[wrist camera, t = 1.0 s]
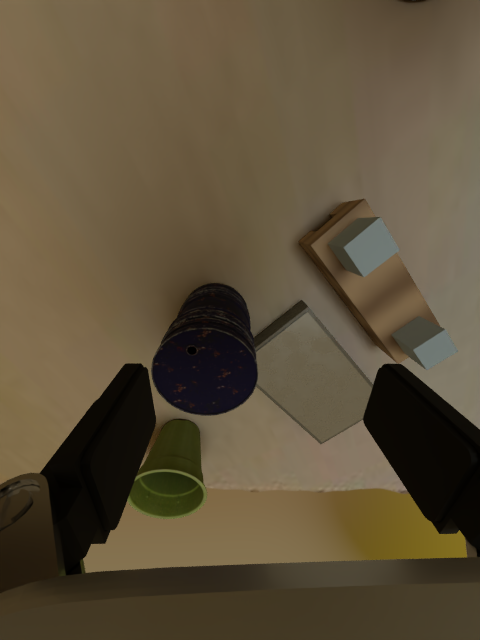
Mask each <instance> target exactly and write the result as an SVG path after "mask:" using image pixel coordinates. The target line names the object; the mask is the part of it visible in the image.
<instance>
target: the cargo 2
mask: <svg viewBox="0 0 480 640" xmlns="http://www.w3.org/2000/svg"><path fill="white" fill-rule="evenodd" d="M392 336H393V338H394V339H395V341H396V342H397V343H398V345H399V346H400V348H401V349H402V350H403V352H404V353H405V354H406V355H407V356H409V357H410V358H411V359H413V360H414V361H415V362H417V363H418V364H419V365H421V366H422V367H423V368H425V369H426V370H428V369H430V368H431V367H433V366H435V365H436V364H438V363H440V362H441V361H443V360H444V359H446V358H448V357H449V356H451V355H453V354H454V353H456V352H458V350H457V348H456V347H455V345H454V343H453V342H452V340H451V338H450V336H449V335H448V333H447V331H446V330H445V329H444V328H442V327H440V326H438V325H436V324H434V323H432V322H430V321H428V320H426V319H424V318H422V317H420V316H418V317H417V318H415V319H414V320H412V321H411V322H409V323H408V324H406V325H405V326H403V327H402V328H400V329H399V330H398V331H396V332H395V333H393V334H392Z"/></svg>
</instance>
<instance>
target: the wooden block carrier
mask: <svg viewBox="0 0 480 640" xmlns="http://www.w3.org/2000/svg"><path fill="white" fill-rule="evenodd" d="M330 216H331V217H332V218H331V219H330V220H329V221H328V222H327V223H326V224H325V225H323V226H322V227H321V228H320V229H319V230H318V231H317V232H315V231H310V232H309V233H308V234H307V235H305V236H304V237H303V238H302V239H301V240H300V241H299V243H300V245H301V246H302V247H303V249H304V250H305V251H306V252H307V254H308V255H309V256H310V258H311V259H312V260H313V262H314V263H315V264H316V266H317V267H318V268H319V270H320V271H321V272H322V274H323V275H324V276H325V278H326V279H327V280H328V282H329V283H330V284H331V286H332V287H333V288H334V290H335V291H336V292H337V294H338V295H339V296H340V298H341V299H342V300H343V302H344V303H345V304H346V306H347V307H348V308H349V310H350V311H351V312H352V313H353V315H354V316H355V317H356V319H357V320H358V321H359V323H360V324H361V325H362V327H363V328H364V329H365V331H366V332H367V333H368V335H369V336H370V337H371V339H372V340H373V341H374V343H375V344H376V345H377V346H378V347H379V348H380V349H381V350H382V351H384V352H385V353H386V354H387V355H388V356H389V357H391V358H392V359H393V360H394V361H395V362H397V363H398V364H399V363H400V362H402V361H404V360H405V359H407V358H408V357H409V356H407V355H406V354H405V353H404V352H403V350H402V349H401V348H400V346H399V345H398V343H397V342H396V341H395V339H394V338H393V336H392V334H393V333H395V332H396V331H398V330H399V329H400V328H402V327H403V326H405V325H406V324H408V323H409V322H411V321H412V320H414V319H415V318H417V317H418V316H420V317H422V318H424V319H426V320H428V321H430V322H432V323H434V324H436V325H438V326H440V325H439V323H438V322H437V320H436V318H435V317H434V315H433V313H432V311H431V310H430V308H429V306H428V305H427V303H426V301H425V300H424V298H423V296H422V295H421V293H420V291H419V289H418V288H417V286H416V284H415V283H414V281H413V279H412V278H411V276H410V274H409V273H408V271H407V269H406V267H405V266H404V264H403V262H402V261H401V259H400V257H399V256H398V254H397V253H395V254H394V255H393V256H391V257H390V258H389V259H388V260H386V261H385V262H384V263H382V264H381V265H380V266H378V267H377V268H376V269H374V270H373V271H372V272H371V273H369V274H368V275H367V276H365V277H362V276H359V275H357V274H354V273H352V272H350V271H347V270H346V269H345V268H344V266H343V265H342V264H341V262H340V261H339V259H338V258H337V257H336V255H335V254H334V252H333V251H332V249H331V248H330V247H329V245H328V243H329V242H330V241H331V240H333V239H334V238H335V237H336V236H337V235H339V234H340V233H341V232H342V231H343V230H344V229H346V228H347V227H348V226H349V225H350V224H352V223H353V222H354V221H355V220H356V219H357V218H369V217H375V215H374V213H373V212H372V210H371V208H370V207H369V205H368V203H367V201H366V200H365V199H361V200H355V201H349V202H344V203H342V204H341V205H339V206H338V207H337V208H336V209H335V210H334V211H333V212H332V213H330Z"/></svg>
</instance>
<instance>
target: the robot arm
mask: <svg viewBox="0 0 480 640" xmlns="http://www.w3.org/2000/svg"><path fill="white" fill-rule="evenodd" d="M412 1H414V0H412ZM363 421H364V424H365V426H366V428H367V429H368V431H369V432H370V434H371V435H372V437H373V439H374V440H375V442H376V443H377V445H378V446H379V448H380V449H381V451H382V452H383V454H384V455H385V457H386V458H387V460H388V461H389V463H390V465H391V466H392V468H393V469H394V471H395V472H396V474H397V475H398V477H399V478H400V480H401V481H402V483H403V484H404V486H405V487H406V489H407V491H408V492H409V494H410V495H411V497H412V498H413V500H414V501H415V503H416V504H417V506H418V507H419V509H420V510H421V512H422V513H423V515H424V516H425V517H426V518H427V519H428V520H429V521H431V522H432V523H433V525H434V526H435V528H436V529H437V531H438V532H439V534H454V533H457V532H458V531H459V530H460V531H461V533H462V534H463V535H464V537H465V540H466V549H467V558H433V559H396V560H364V561H363V560H362V561H333V562H332V561H331V562H302V563H272V564H246V565H223V566H196V567H170V568H153V569H137V570H119V571H105V572H104V571H103V572H92V573H85V568H84V562H83V558H84V557H85V556H86V554H87V552H88V550H89V548H90V545H91V544H105V542H106V540H107V538H108V535H109V533H110V530H115V528H116V527H117V525H118V523H119V521H120V518H121V516H122V513H123V510H124V507H125V505H126V502H127V500H128V497H129V494H130V492H131V489H132V486H133V484H134V481H135V478H136V476H137V473H138V471H139V468H140V465H141V463H142V460H143V457H144V455H145V452H146V449H147V447H148V444H149V441H150V439H151V436H152V433H153V431H154V428H155V424H156V416H155V410H154V404H153V398H152V392H151V386H150V380H149V374H148V369H147V368H146V367H143V365H142V364H125V365H124V366H123V367H122V369H121V370H120V371H119V373H118V374H117V375H116V376H115V378H114V379H113V380H112V382H111V383H110V384H109V386H108V387H107V388H106V390H105V391H104V392H103V394H102V395H101V396H100V398H99V399H98V400H96V401H95V402H94V403H93V404H92V406H91V407H90V408H89V410H88V411H87V412H86V414H85V415H84V416H83V417H82V419H81V420H80V421H79V423H78V424H77V425H76V427H75V428H74V429H73V430H72V432H71V433H70V434H69V436H68V437H67V438H66V440H65V441H64V442H63V443H62V445H61V446H60V447H59V449H58V450H57V451H56V453H55V454H54V455H53V457H52V458H51V459H50V460H49V462H48V463H47V464H46V466H45V467H44V468H43V470H42V471H41V472H40V473H28V474H23V475H19V476H17V477H14V478H12V479H9V480H7V481H6V482H4V483H2V484H1V485H0V640H480V429H478V428H477V427H476V426H475V425H474V424H472V423H471V422H470V421H469V420H468V419H466V418H465V417H464V416H463V415H462V414H460V413H459V412H458V411H457V410H456V409H454V408H453V407H452V406H451V405H450V404H449V403H447V402H446V401H445V400H444V399H443V398H441V397H440V396H439V395H438V394H437V393H435V392H434V391H433V390H432V389H431V388H429V387H428V386H427V385H426V384H425V383H423V382H422V381H421V380H420V379H419V378H417V377H416V376H415V375H414V374H413V373H412V372H410V371H409V370H408V369H407V368H406V367H404V366H403V365H401V364H384V365H383V366H382V367H381V368H379V370H378V372H377V375H376V378H375V381H374V385H373V388H372V391H371V394H370V397H369V400H368V403H367V406H366V410H365V413H364V416H363Z"/></svg>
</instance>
